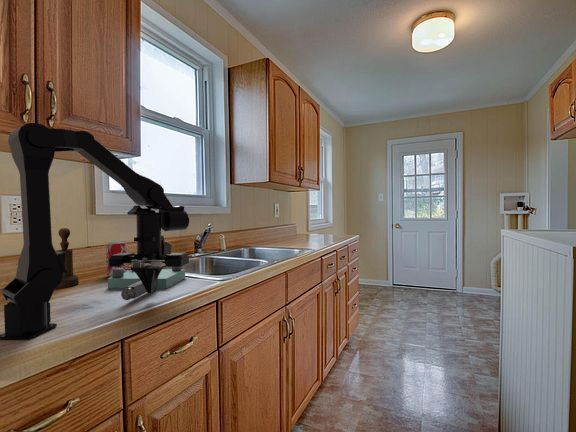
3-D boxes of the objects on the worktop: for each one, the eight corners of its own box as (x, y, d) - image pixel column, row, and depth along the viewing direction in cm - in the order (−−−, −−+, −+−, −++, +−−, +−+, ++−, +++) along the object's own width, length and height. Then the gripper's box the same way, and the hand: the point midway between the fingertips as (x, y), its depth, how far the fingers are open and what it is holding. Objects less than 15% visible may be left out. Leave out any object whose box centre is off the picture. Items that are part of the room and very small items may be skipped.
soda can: (119, 278, 105) (118, 243, 105) (101, 277, 107) (100, 243, 106) (133, 274, 112) (132, 241, 112) (116, 273, 114) (116, 241, 113)
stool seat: (166, 288, 90) (166, 270, 90) (107, 288, 91) (107, 270, 91) (185, 277, 104) (184, 261, 104) (134, 277, 105) (133, 262, 105)
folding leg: (149, 288, 89) (149, 273, 89) (159, 288, 89) (158, 273, 89) (121, 302, 76) (120, 285, 75) (132, 303, 75) (131, 285, 75)
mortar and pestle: (47, 287, 93) (45, 228, 93) (65, 282, 100) (63, 227, 99) (66, 288, 92) (64, 228, 92) (83, 283, 99) (82, 227, 98)
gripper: (196, 230, 86) (197, 285, 86) (131, 230, 87) (133, 285, 87) (179, 233, 75) (180, 296, 75) (106, 233, 76) (107, 296, 76)
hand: (150, 293), depth 79 cm, fingers closed
